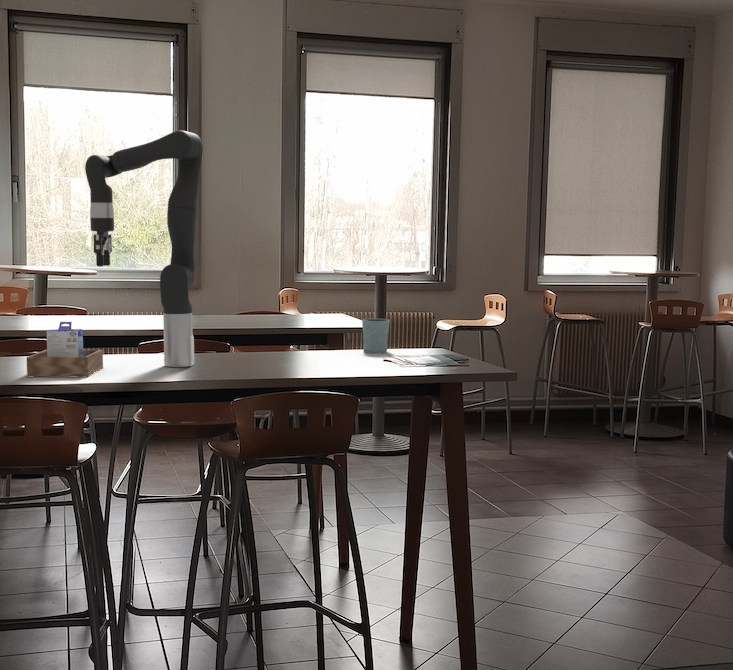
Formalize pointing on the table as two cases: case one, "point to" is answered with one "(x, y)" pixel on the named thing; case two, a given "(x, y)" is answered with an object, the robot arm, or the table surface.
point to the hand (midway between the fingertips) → (103, 265)
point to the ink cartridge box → (65, 342)
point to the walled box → (65, 364)
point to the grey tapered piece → (375, 335)
